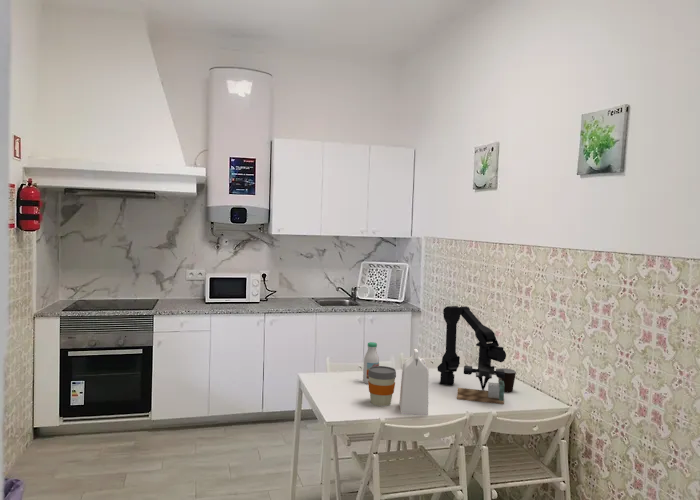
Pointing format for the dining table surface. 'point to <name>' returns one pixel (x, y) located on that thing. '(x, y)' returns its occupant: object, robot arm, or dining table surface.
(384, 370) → the reusable coffee cup
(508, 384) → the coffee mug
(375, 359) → the milk bottle
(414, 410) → the milk
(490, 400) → the rail board
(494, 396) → the metal slider block
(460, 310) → the robot arm
